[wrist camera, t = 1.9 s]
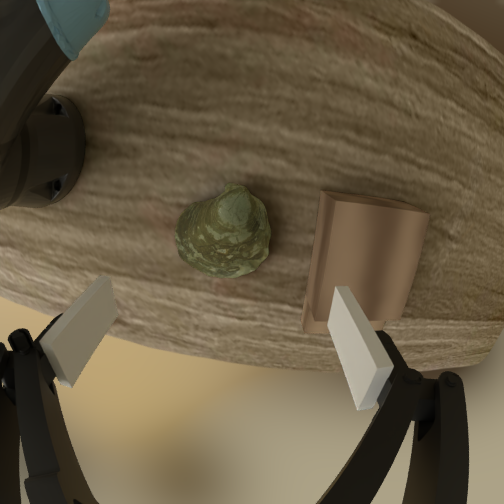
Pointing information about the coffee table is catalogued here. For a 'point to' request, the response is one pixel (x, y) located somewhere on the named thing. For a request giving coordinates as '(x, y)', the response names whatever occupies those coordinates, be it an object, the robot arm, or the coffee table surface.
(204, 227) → the seashell
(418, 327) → the coffee table surface
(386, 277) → the block
